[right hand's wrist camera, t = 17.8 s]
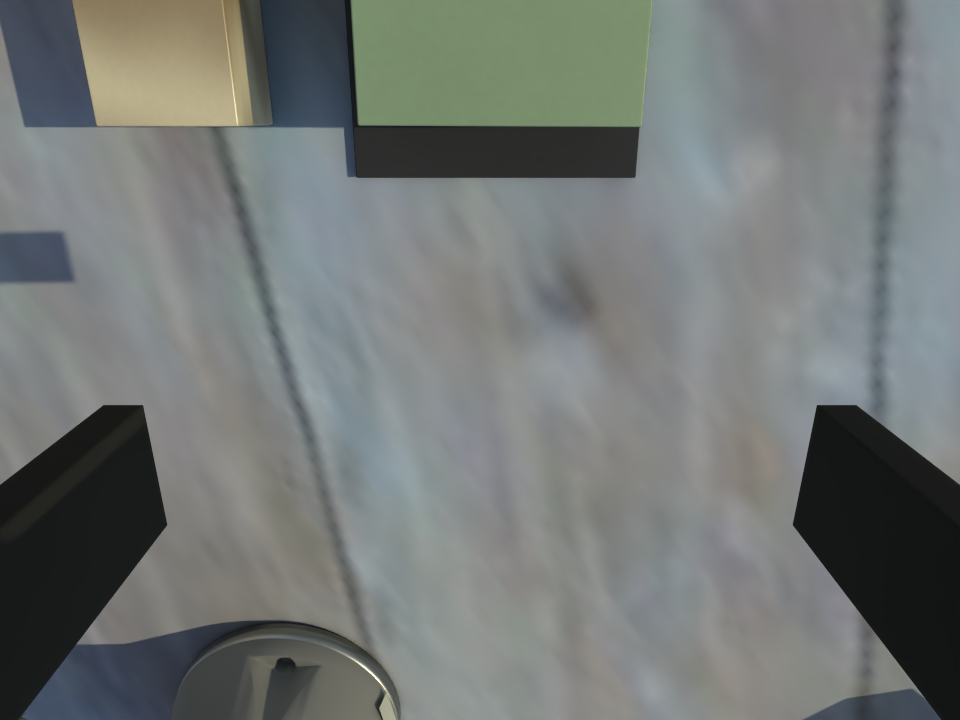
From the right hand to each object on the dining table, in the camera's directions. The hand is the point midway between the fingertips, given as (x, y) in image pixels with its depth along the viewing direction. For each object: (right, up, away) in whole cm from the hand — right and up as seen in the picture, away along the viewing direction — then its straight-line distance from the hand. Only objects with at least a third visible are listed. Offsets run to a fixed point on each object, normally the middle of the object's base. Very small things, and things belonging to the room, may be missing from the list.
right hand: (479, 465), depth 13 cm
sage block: (+1, +18, +17) cm, 25 cm away
